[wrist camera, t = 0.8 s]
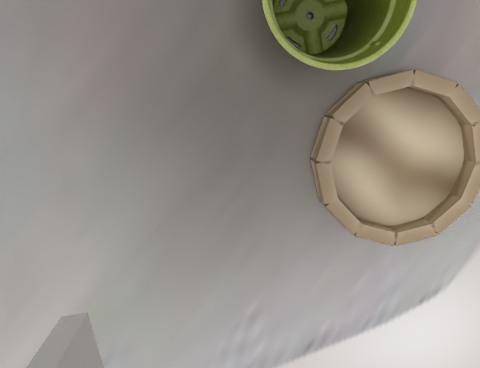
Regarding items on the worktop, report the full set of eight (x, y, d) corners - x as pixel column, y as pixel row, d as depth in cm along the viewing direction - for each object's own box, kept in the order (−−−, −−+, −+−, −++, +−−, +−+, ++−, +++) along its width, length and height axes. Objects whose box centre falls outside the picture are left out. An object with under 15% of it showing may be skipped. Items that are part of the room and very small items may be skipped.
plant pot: (227, 37, 30) (231, 15, 22) (289, -75, 29) (318, -145, 20) (323, 98, 32) (361, 99, 24) (387, -6, 30) (452, -44, 22)
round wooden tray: (344, 52, 31) (352, 49, 29) (498, 101, 33) (516, 101, 31) (292, 214, 34) (296, 221, 32) (436, 251, 36) (448, 260, 34)
